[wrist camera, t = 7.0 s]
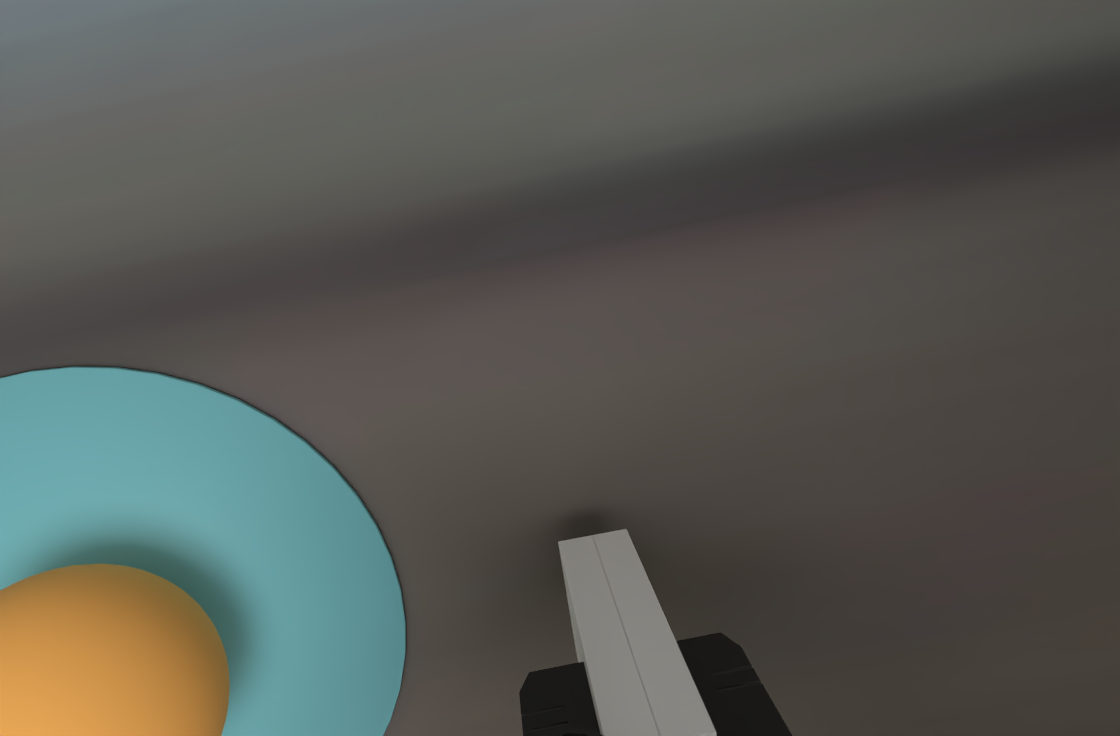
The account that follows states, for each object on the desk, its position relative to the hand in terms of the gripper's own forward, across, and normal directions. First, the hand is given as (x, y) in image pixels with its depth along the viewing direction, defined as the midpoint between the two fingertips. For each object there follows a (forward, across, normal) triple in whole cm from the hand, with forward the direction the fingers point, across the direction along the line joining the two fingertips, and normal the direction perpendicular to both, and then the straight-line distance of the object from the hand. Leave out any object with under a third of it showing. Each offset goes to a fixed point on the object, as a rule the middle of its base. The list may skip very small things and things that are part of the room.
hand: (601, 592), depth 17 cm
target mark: (+2, +11, 0) cm, 11 cm away
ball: (-1, +11, 0) cm, 11 cm away
